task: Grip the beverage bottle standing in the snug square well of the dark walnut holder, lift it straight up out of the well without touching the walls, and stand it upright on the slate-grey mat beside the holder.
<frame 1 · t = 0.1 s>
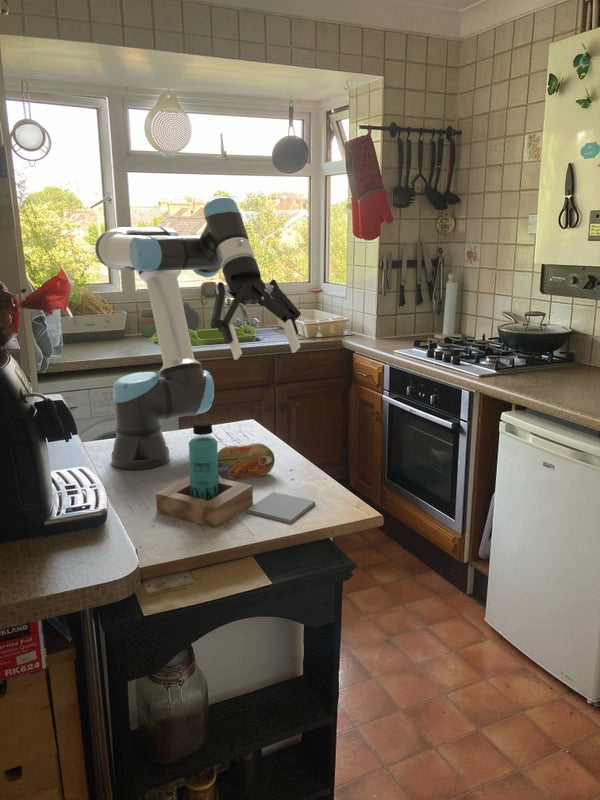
hand: (268, 353, 130), 36 cm above the countertop, tool tilted 35°, fingers open, 13 cm apart
walnut bottle holder: (205, 508, 142), on the countertop
beverage bottle: (205, 508, 142), resting in walnut bottle holder
tin: (244, 477, 160), on the countertop
slate mat: (281, 508, 141), on the countertop
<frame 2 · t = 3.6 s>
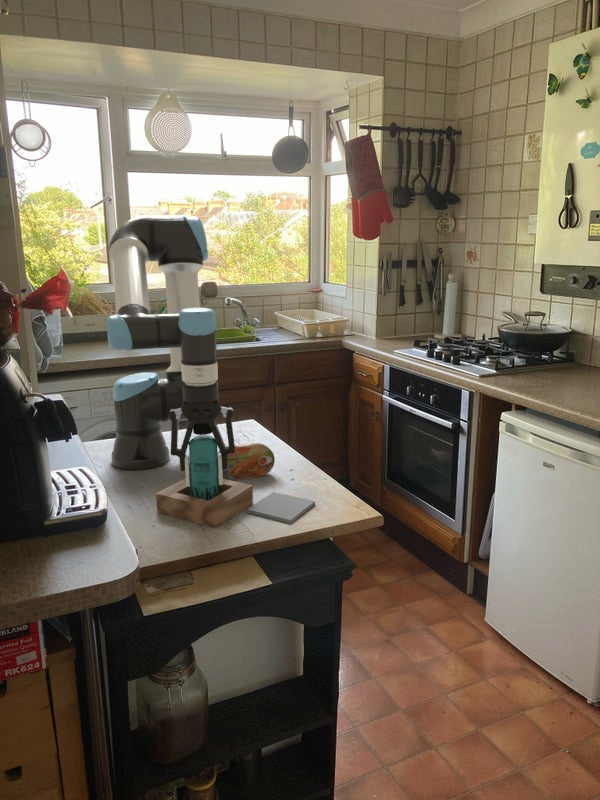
hand: (204, 483, 140), 6 cm above the countertop, tool pointing down, fingers closed on beverage bottle, 6 cm apart
beverage bottle: (205, 508, 142), resting in walnut bottle holder, touching gripper
everything else where it was.
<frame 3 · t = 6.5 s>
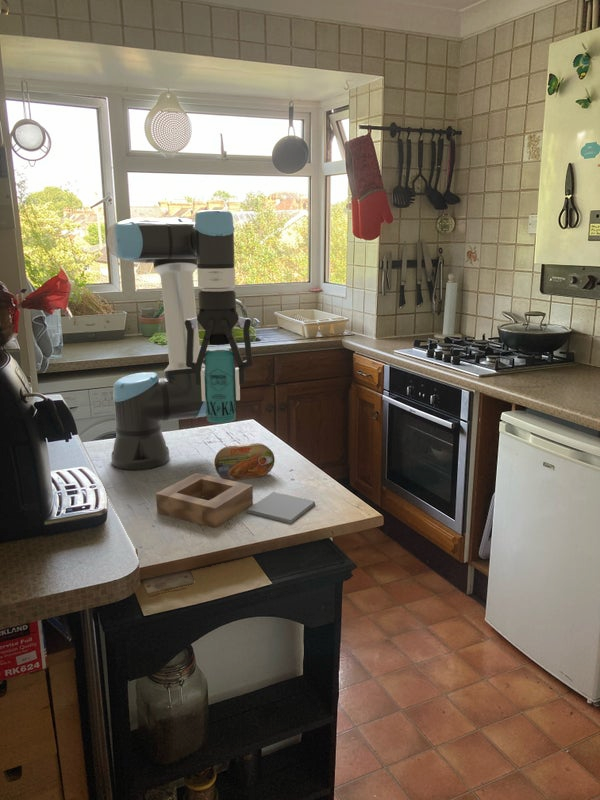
hand: (221, 398, 135), 25 cm above the countertop, tool pointing down, fingers closed on beverage bottle, 6 cm apart
beverage bottle: (222, 426, 136), point 19 cm above the countertop, touching gripper
everything else where it was.
when the fingers open (8 cm above the countertop, at t = 9.5 s): beverage bottle drops 1 cm, resting on slate mat.
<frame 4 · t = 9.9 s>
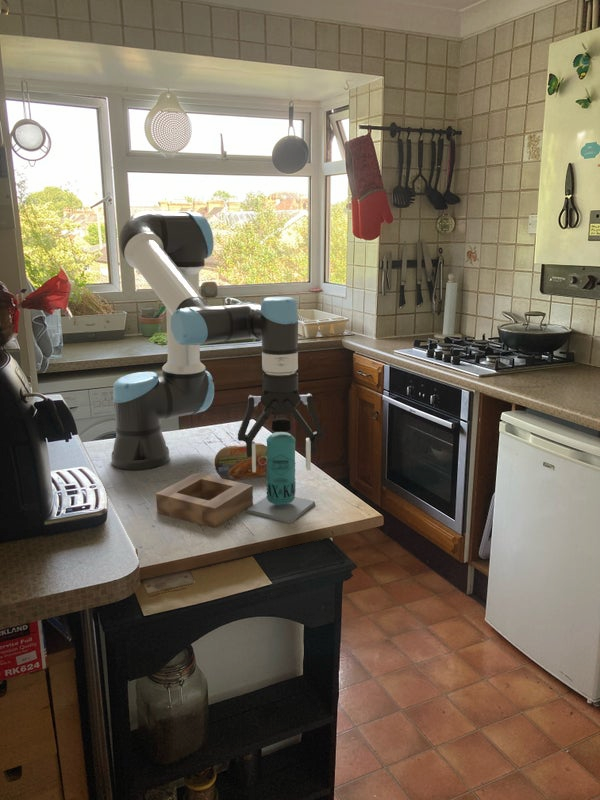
hand: (281, 469, 139), 9 cm above the countertop, tool pointing down, fingers open, 11 cm apart
beverage bottle: (281, 505, 141), point 1 cm above the countertop, touching slate mat
everything else where it was.
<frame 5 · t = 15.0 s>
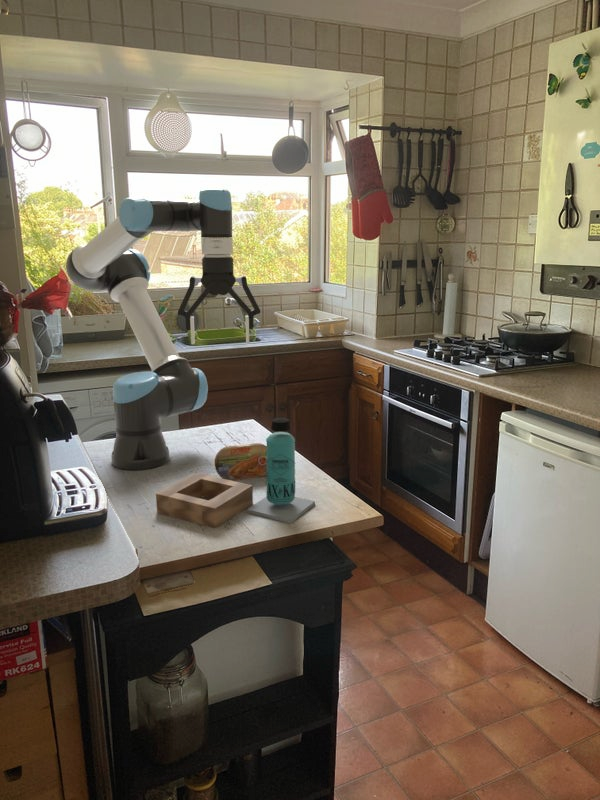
hand: (220, 342, 159), 33 cm above the countertop, tool pointing down, fingers open, 13 cm apart
nothing on the countertop moved.
at the end: beverage bottle inside the target area (0.1 cm from its centre), point 0.6 cm above the countertop; beverage bottle tilted 0°; the gripper is holding nothing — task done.
